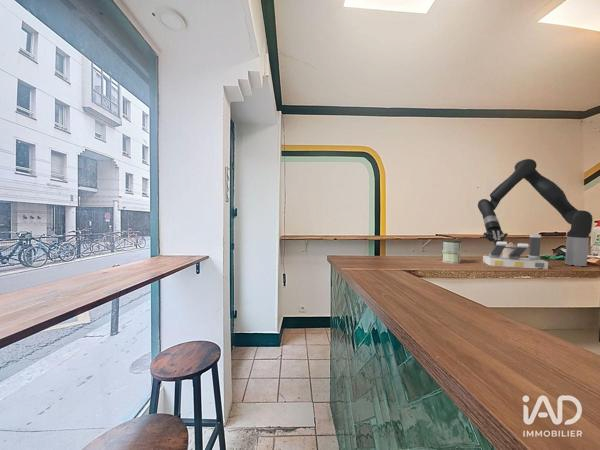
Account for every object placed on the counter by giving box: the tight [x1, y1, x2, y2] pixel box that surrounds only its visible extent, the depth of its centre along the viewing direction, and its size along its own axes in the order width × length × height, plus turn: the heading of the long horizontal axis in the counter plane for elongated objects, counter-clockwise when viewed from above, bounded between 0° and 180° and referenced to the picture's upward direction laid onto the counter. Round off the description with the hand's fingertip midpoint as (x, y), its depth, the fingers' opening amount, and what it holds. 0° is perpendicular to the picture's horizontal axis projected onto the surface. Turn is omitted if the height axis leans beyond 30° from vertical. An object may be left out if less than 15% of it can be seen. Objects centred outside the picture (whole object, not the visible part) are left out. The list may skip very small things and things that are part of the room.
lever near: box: [527, 233, 542, 260], centre depth 158 cm, size 5×2×15 cm, turn 73°
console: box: [482, 255, 549, 270], centre depth 161 cm, size 28×12×4 cm, turn 73°
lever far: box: [488, 241, 508, 258], centre depth 159 cm, size 5×2×15 cm
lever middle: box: [508, 242, 530, 259], centre depth 156 cm, size 5×2×15 cm
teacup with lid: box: [501, 241, 517, 257], centre depth 181 cm, size 12×9×12 cm
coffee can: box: [441, 238, 462, 264], centre depth 170 cm, size 10×10×14 cm
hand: (498, 246), depth 158 cm, fingers closed
